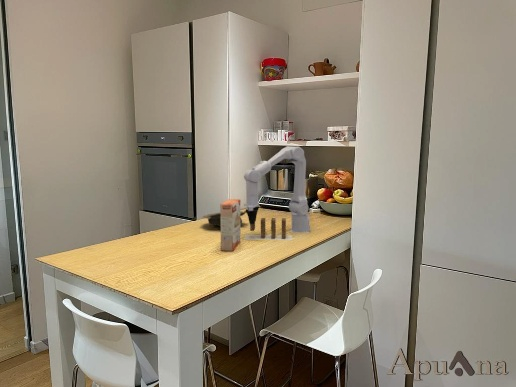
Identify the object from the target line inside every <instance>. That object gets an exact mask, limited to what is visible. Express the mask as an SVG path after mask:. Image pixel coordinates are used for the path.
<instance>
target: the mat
mask: <svg viewBox="0 0 516 387" xmlns="http://www.w3.org/2000/svg"><path fill="white" fill-rule="evenodd" d="M243 240H249V241H293V235H292V234H291V235H289V234H288V235H287V234H286V239H282V234H276V237H275V239H271V234H265V239H261V234H245V236H244V237H243Z"/></svg>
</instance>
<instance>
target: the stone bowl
mask: <svg viewBox="0 0 516 387" xmlns="http://www.w3.org/2000/svg"><path fill="white" fill-rule="evenodd" d="M246 214H247V213H246V210H245V211H241V210H240V227H241V226H242V223H243V219H242V217H243V216H244V215H246ZM201 218H203V219H207V221H208V224H210V225H212V226H219V227H221V214H220V212H216V213H209V214H207V215H206V214H204V215H202V217H201Z"/></svg>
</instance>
